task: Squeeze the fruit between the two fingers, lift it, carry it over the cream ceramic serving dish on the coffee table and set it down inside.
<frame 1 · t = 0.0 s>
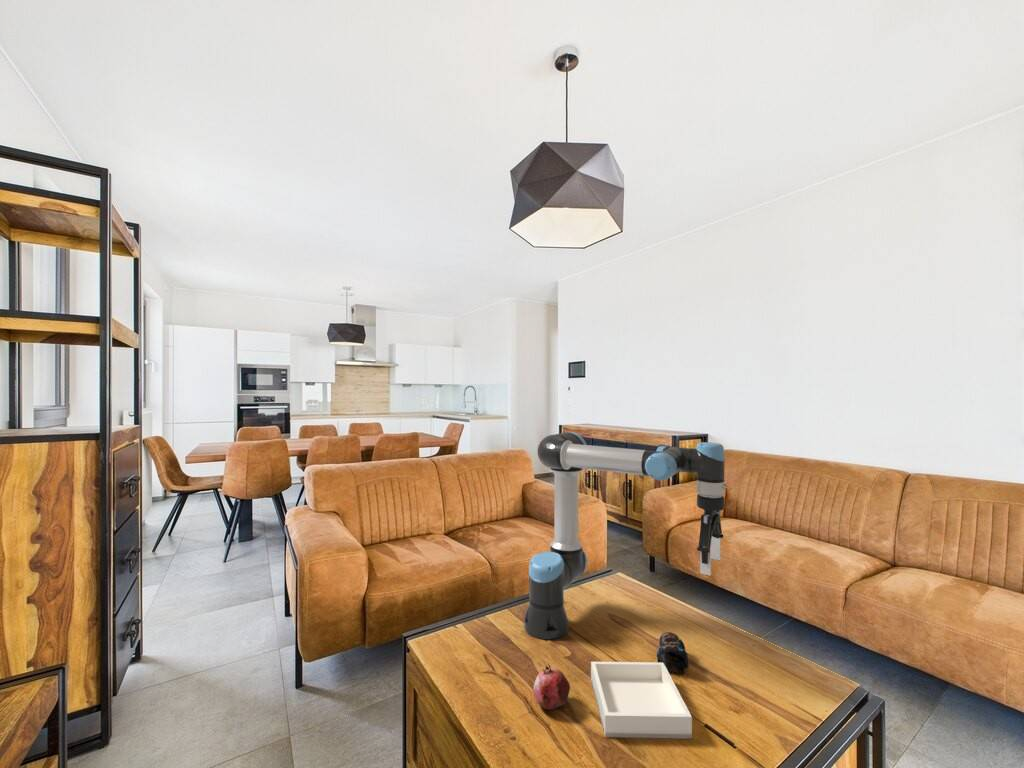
hand: (710, 566, 130), 28 cm above the table, fingers open, 13 cm apart
dish: (636, 706, 111), on the table
fruit: (551, 704, 112), on the table
figurine: (672, 662, 129), on the table
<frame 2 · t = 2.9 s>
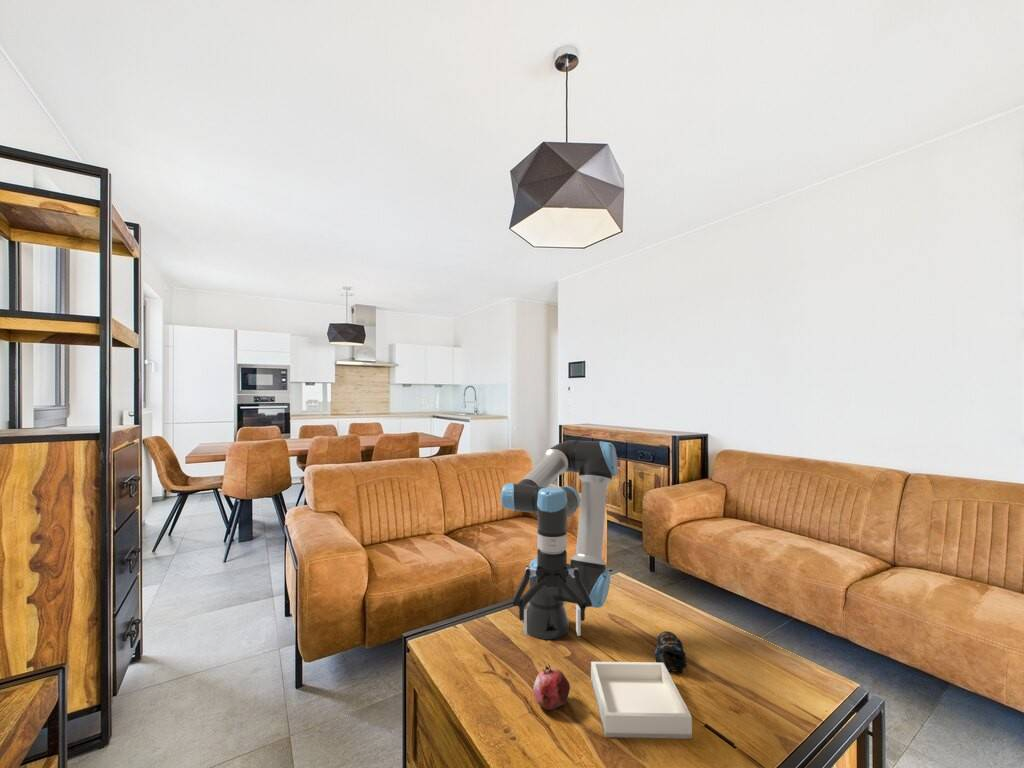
hand: (551, 632, 112), 18 cm above the table, fingers open, 13 cm apart
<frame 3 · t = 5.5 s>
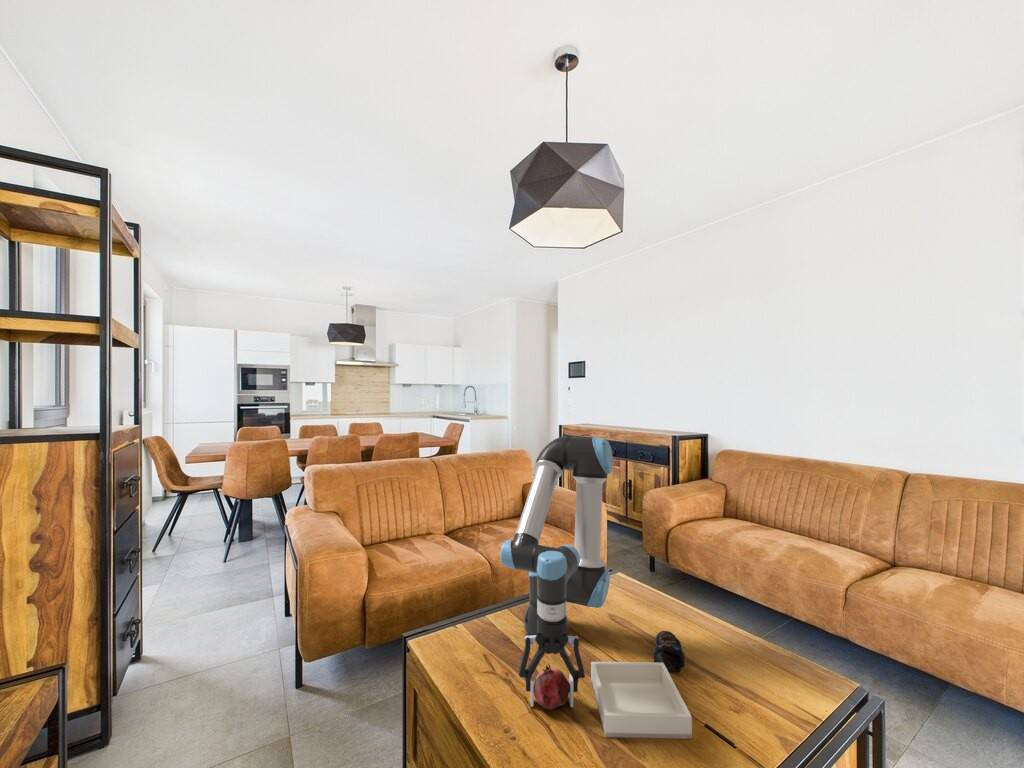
hand: (551, 703, 112), 0 cm above the table, fingers closed on fruit, 9 cm apart
fruit: (551, 704, 112), on the table, touching gripper
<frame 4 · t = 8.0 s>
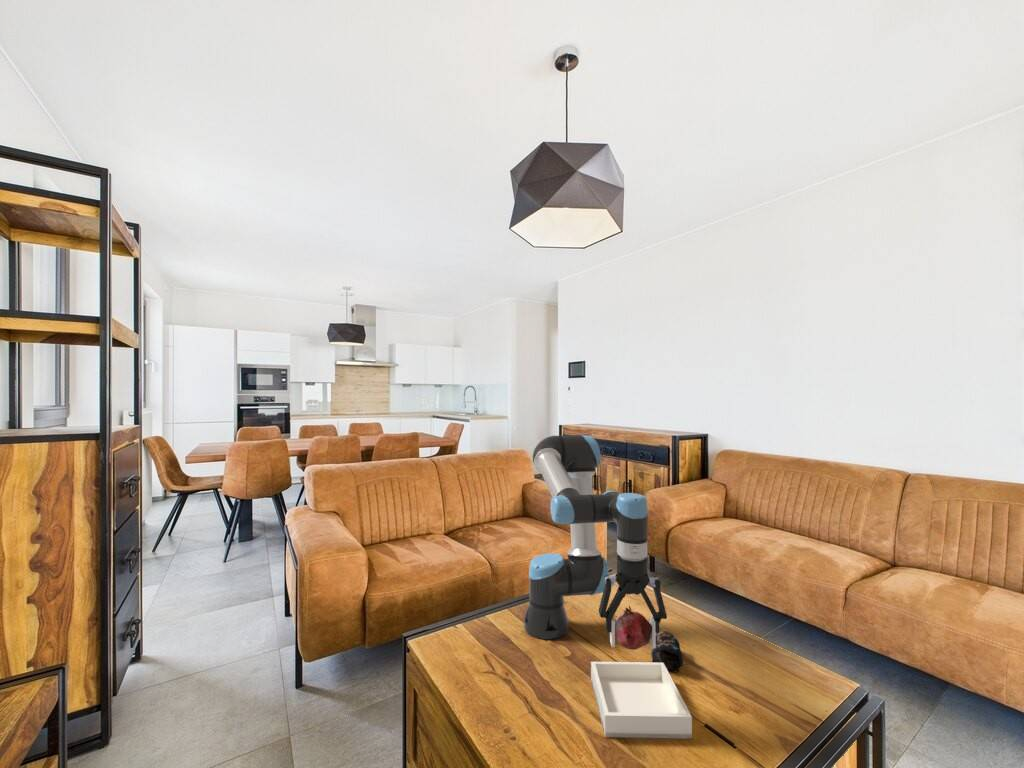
hand: (632, 644, 111), 16 cm above the table, fingers closed on fruit, 9 cm apart
fruit: (632, 646, 111), point 15 cm above the table, touching gripper
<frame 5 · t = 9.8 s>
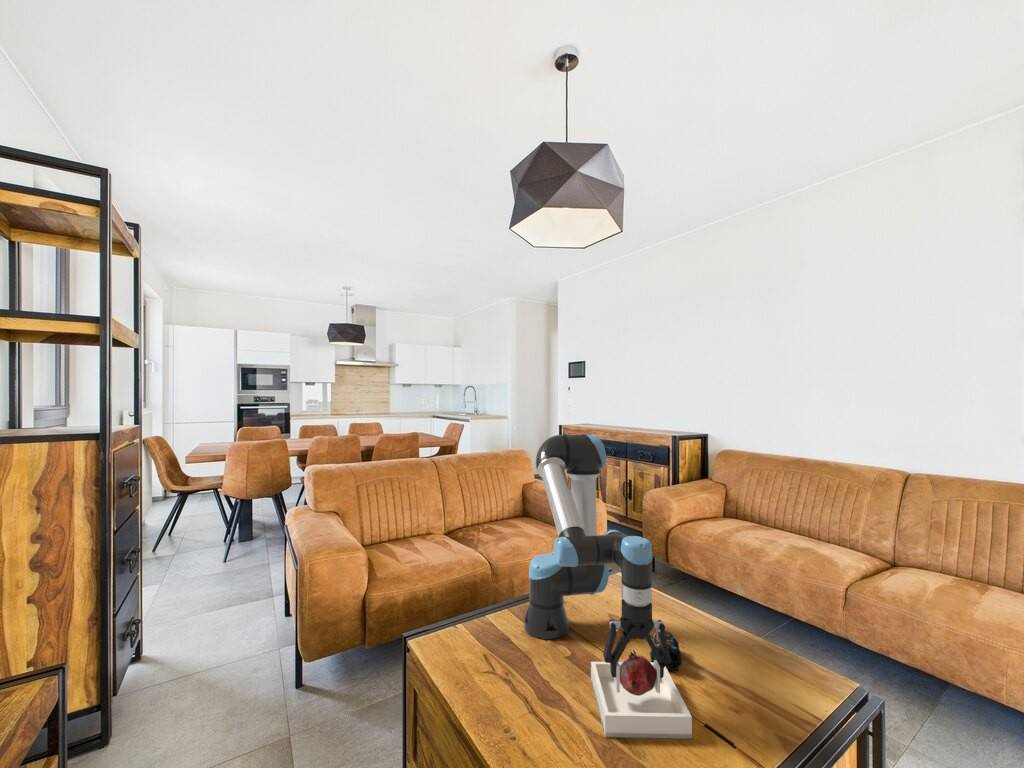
hand: (636, 689, 111), 4 cm above the table, fingers closed on fruit, 9 cm apart
fruit: (637, 690, 111), point 4 cm above the table, touching gripper
when the fingers open (4 cm above the table, at t = 10.9 s): fruit drops 2 cm, resting on dish.
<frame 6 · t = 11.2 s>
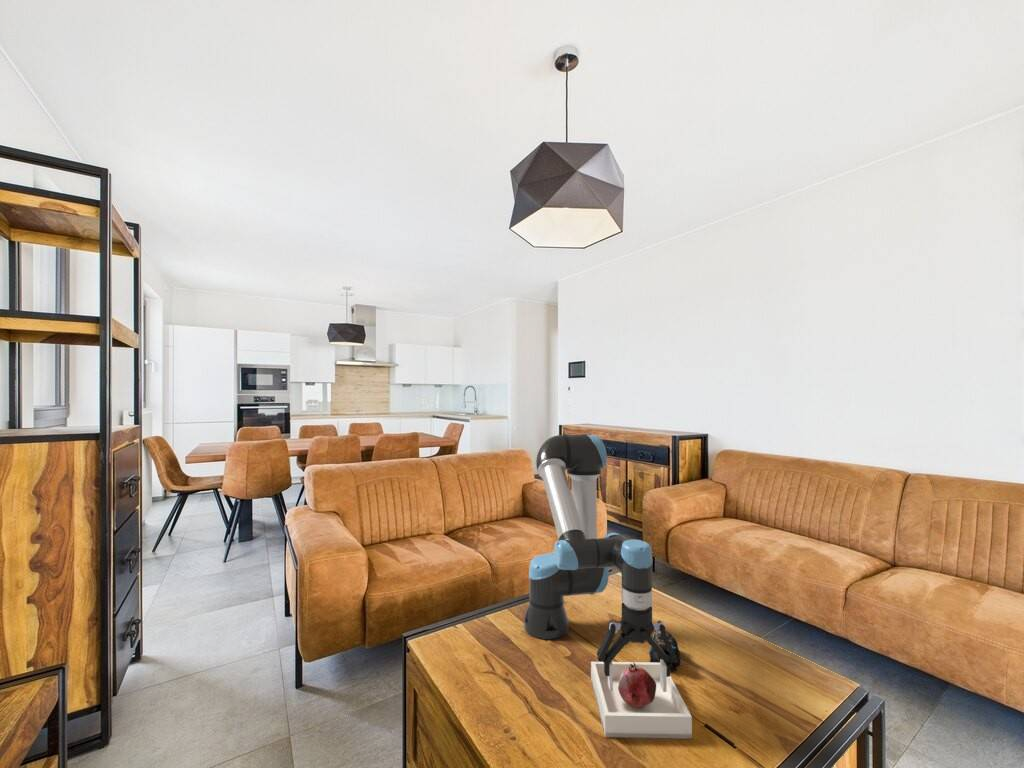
hand: (636, 688, 111), 5 cm above the table, fingers open, 13 cm apart
fruit: (637, 703, 111), point 1 cm above the table, touching dish
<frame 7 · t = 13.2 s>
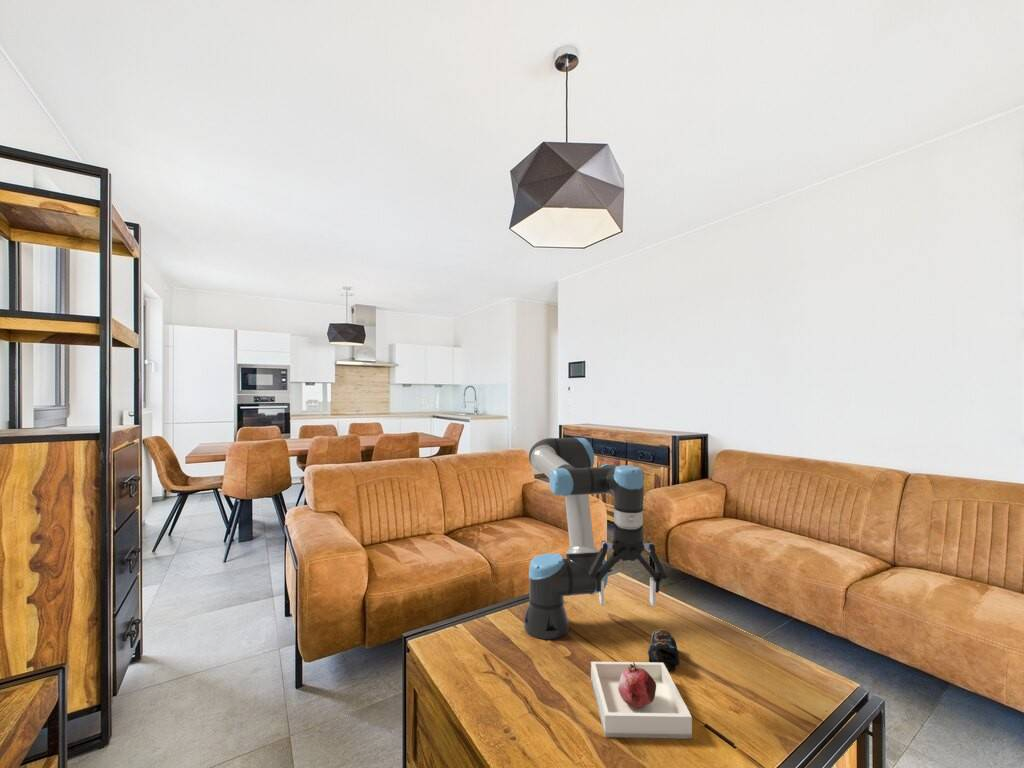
hand: (626, 603, 117), 23 cm above the table, fingers open, 13 cm apart
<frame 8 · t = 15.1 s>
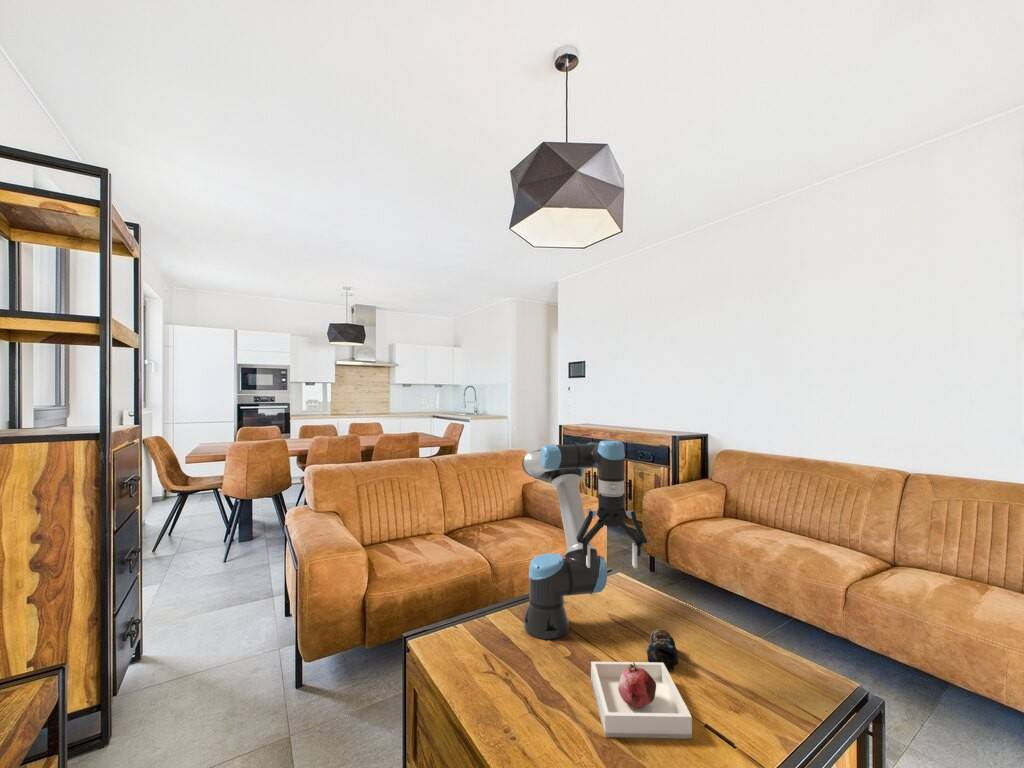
hand: (611, 566, 128), 29 cm above the table, fingers open, 13 cm apart
at the end: fruit 0.1 cm from the dish (horizontally); fruit point 0.8 cm above the table; fruit touching dish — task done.
